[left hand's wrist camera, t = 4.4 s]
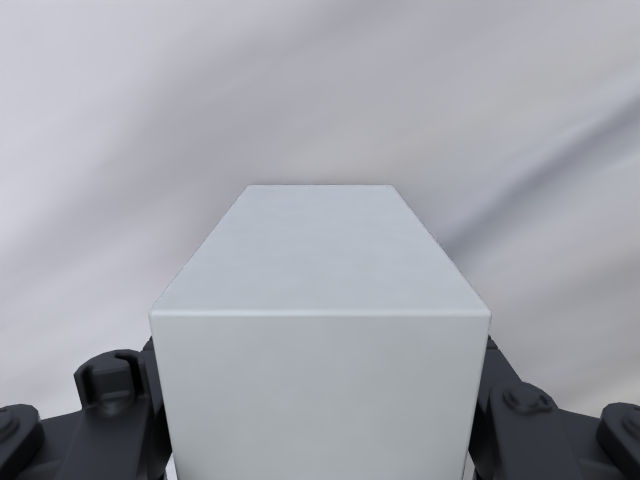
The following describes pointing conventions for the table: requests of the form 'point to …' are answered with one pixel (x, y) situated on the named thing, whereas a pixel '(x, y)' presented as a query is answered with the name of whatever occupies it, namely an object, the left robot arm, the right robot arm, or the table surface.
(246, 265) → the bar
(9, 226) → the table surface
